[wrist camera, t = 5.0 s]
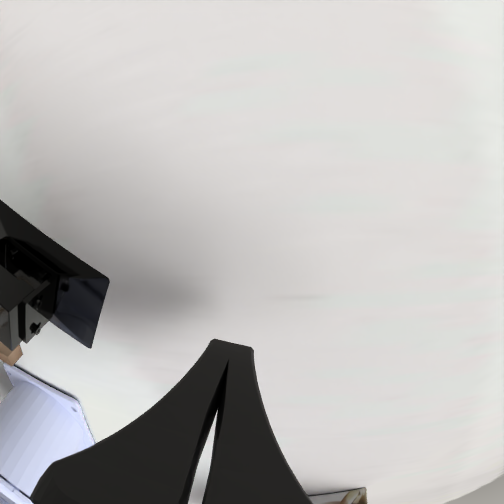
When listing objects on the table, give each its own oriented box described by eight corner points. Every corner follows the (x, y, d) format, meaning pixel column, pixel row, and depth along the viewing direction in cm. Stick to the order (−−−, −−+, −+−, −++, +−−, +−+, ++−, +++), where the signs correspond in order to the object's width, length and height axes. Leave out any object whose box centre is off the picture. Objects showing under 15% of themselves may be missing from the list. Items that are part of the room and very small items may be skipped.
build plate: (-21, 260, 14) (-65, 292, 10) (-15, 162, 11) (-75, 183, 7) (116, 365, 16) (82, 422, 12) (151, 274, 13) (101, 338, 9)
